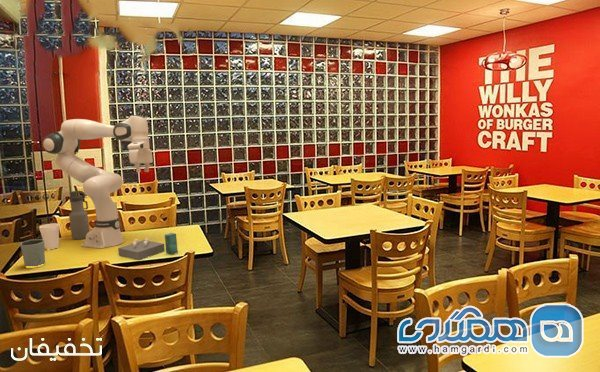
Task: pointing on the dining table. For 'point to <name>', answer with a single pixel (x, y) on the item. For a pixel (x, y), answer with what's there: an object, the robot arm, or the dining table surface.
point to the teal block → (171, 243)
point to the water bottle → (78, 215)
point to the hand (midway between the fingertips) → (142, 172)
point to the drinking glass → (33, 252)
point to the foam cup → (50, 235)
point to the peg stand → (141, 249)
